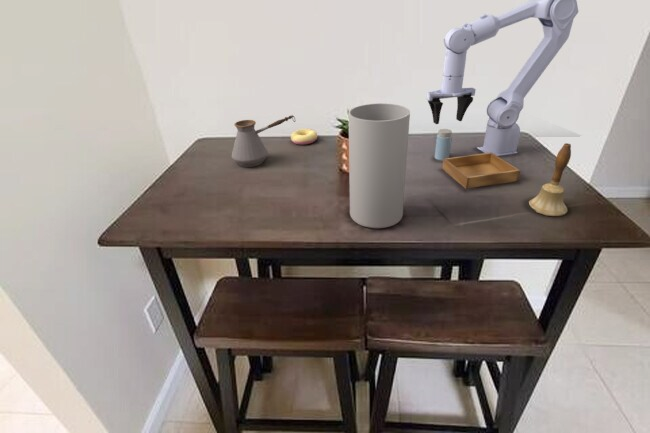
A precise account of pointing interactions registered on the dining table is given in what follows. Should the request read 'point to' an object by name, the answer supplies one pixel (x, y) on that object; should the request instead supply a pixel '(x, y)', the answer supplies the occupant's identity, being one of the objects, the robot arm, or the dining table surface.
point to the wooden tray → (480, 170)
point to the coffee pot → (251, 143)
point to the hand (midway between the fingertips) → (447, 121)
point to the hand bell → (553, 188)
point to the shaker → (443, 144)
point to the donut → (304, 136)
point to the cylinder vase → (377, 163)
